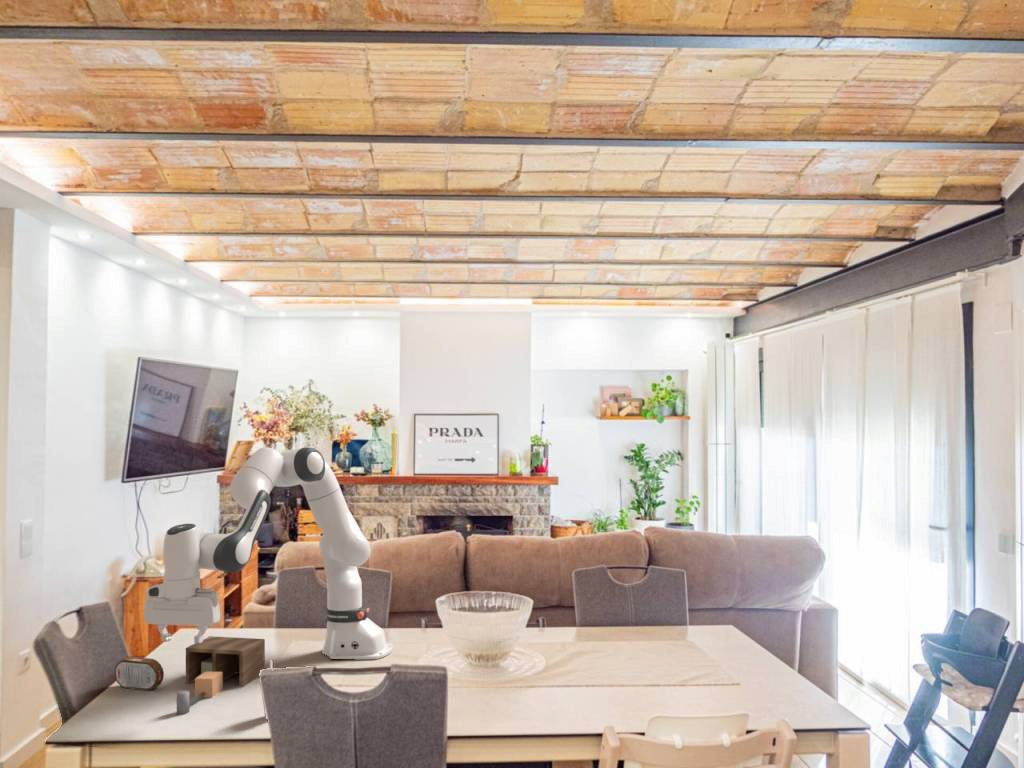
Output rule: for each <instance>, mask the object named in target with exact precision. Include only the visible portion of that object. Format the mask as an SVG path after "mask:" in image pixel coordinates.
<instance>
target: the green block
mask: <svg viewBox="0 0 1024 768" xmlns="http://www.w3.org/2000/svg"><path fill="white" fill-rule="evenodd" d="M206 671H211V672H212V657H210V658H208V659H206V660H204V661H202V662H201V674H203V673H204V672H206Z"/></svg>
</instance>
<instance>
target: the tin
mask: <svg viewBox="0 0 1024 768" xmlns="http://www.w3.org/2000/svg"><path fill="white" fill-rule="evenodd" d="M164 675H165V674H164V668H163V667H162V665H161V663H160V662H159V661H158V660H156V659H154V658H147V657H139V656H138V657H136V656H126V657H124V658H123V659H121V660H120V661H118V662H116V665H115V666H114V678H115V681H116V682H117V684H118V685H119V686H120V687H122V688H124V687H126V688H125V689H130V688H134V689H133V690H140V689H143V690H142V691H151V690H153V689H155V688H158V687H159V686H160V685H161V684H162V683H163V681H164V677H165V676H164Z"/></svg>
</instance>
